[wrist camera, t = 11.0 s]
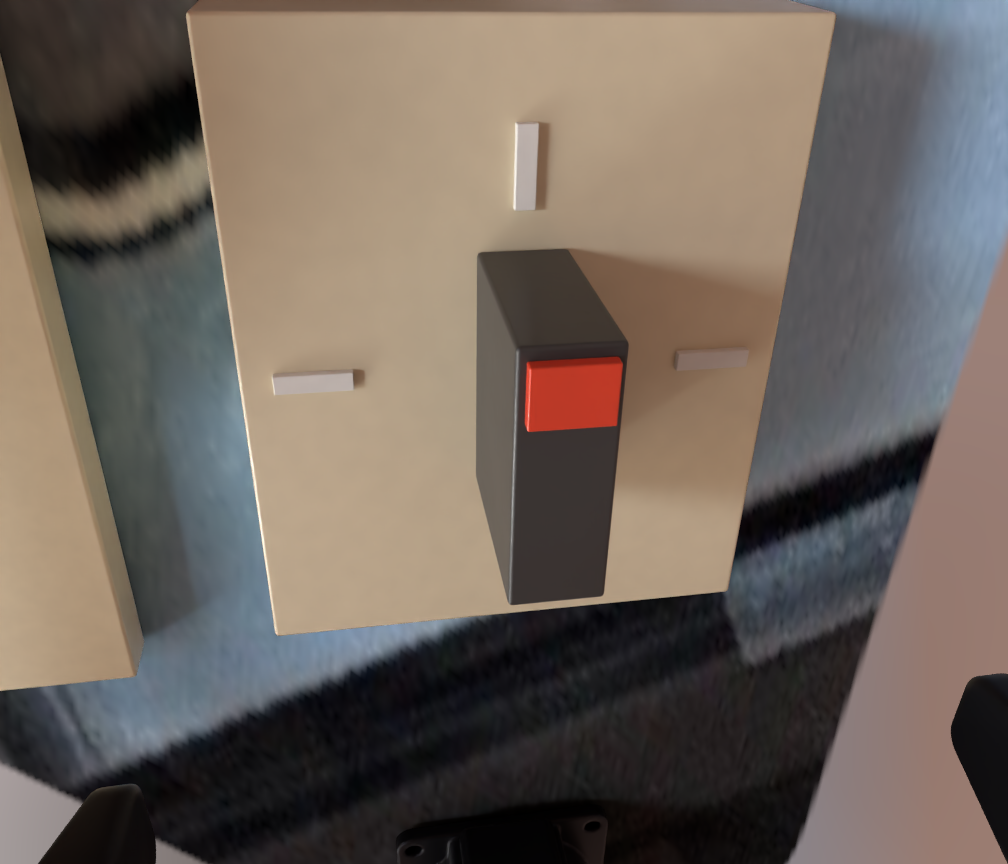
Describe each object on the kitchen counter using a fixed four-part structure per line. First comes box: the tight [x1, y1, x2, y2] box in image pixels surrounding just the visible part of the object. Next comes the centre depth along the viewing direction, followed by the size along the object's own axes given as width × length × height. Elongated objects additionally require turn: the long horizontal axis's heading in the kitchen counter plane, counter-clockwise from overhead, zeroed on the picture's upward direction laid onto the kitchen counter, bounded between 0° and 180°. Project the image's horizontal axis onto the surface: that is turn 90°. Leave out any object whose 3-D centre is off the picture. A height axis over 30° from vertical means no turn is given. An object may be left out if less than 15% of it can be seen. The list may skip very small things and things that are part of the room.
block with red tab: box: [476, 249, 629, 605], centre depth 15 cm, size 5×2×4 cm, turn 179°
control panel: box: [186, 0, 836, 636], centre depth 18 cm, size 12×10×3 cm
